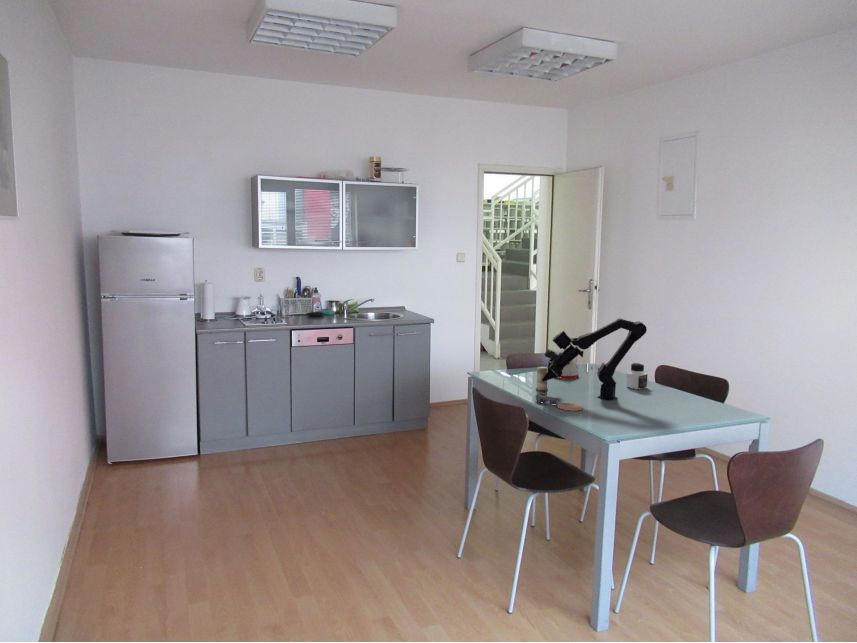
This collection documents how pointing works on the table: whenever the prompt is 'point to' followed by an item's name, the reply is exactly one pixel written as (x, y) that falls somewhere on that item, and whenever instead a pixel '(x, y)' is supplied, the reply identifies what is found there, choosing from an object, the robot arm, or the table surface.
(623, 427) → the table surface
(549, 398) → the grey angled bracket
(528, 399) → the table surface
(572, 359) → the robot arm
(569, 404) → the terracotta coaster
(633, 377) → the medicine bottle
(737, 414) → the table surface
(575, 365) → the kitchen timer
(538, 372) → the birch ring post
